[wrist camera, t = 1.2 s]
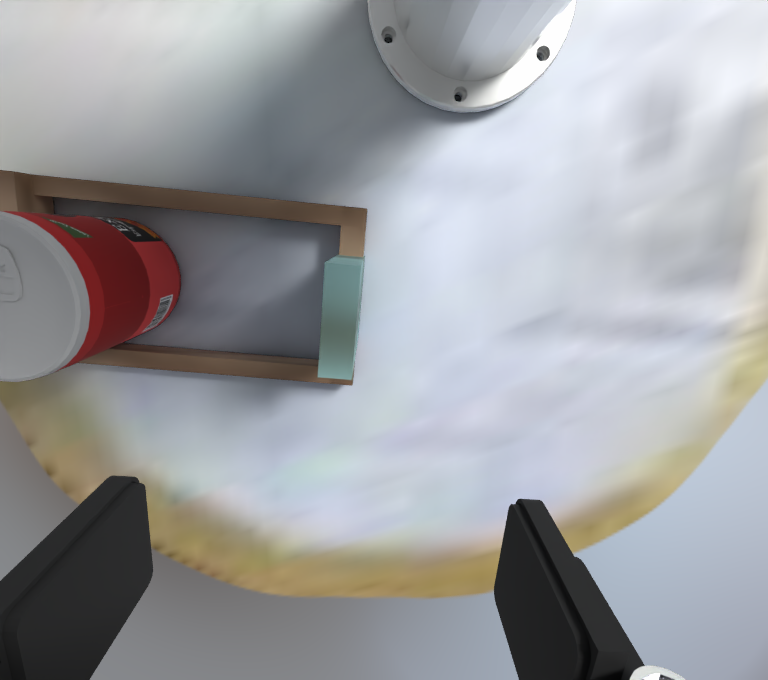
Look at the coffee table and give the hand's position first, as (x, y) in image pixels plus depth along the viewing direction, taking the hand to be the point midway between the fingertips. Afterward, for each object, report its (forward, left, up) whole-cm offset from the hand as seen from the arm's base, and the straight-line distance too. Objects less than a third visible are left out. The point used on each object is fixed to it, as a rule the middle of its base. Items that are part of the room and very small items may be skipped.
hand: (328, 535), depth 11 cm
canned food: (-3, -16, -21) cm, 27 cm away
